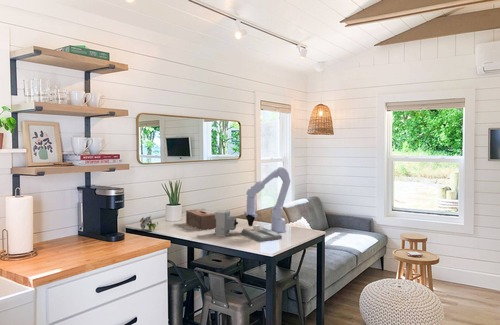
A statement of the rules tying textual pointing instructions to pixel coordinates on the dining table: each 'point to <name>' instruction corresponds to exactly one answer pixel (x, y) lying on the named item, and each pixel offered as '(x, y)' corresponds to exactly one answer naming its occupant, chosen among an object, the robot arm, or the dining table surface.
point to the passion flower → (147, 223)
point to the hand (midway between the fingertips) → (250, 226)
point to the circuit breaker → (224, 222)
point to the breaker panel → (261, 234)
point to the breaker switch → (256, 227)
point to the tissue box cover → (201, 219)
